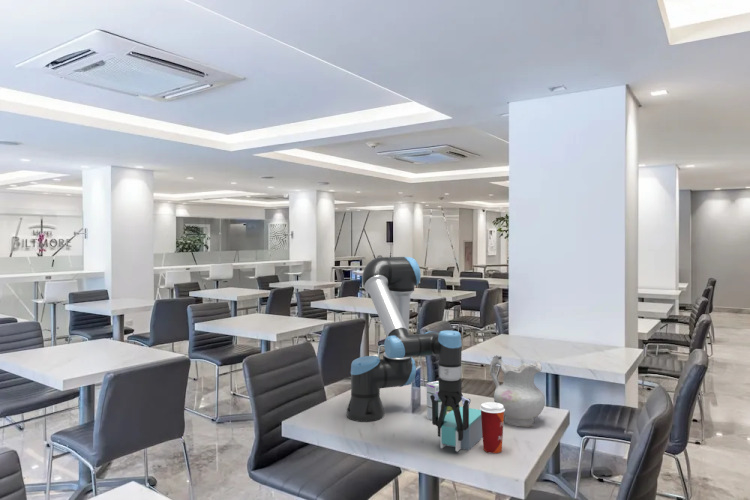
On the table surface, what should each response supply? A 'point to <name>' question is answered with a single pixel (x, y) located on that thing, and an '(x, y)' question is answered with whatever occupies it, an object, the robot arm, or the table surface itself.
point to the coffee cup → (492, 426)
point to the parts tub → (471, 435)
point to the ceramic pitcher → (518, 392)
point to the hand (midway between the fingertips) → (450, 448)
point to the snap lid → (451, 426)
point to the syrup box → (431, 389)
